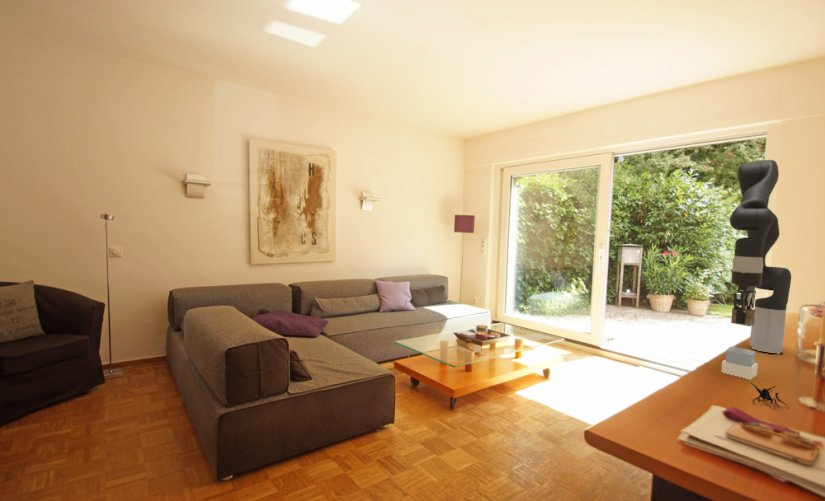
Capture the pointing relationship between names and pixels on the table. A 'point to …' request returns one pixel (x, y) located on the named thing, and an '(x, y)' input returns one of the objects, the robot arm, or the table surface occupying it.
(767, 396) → the creature
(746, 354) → the grey rectangular block
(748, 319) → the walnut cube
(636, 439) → the table surface
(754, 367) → the base block
